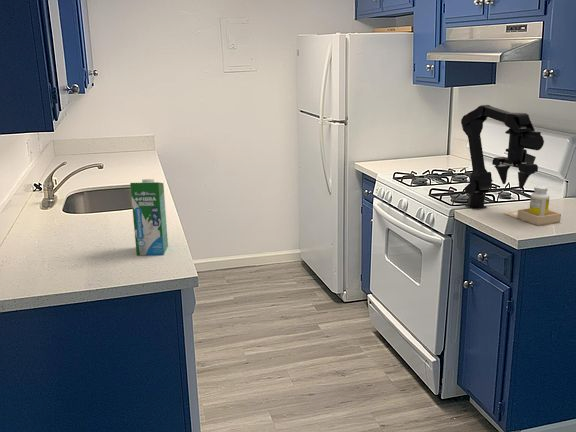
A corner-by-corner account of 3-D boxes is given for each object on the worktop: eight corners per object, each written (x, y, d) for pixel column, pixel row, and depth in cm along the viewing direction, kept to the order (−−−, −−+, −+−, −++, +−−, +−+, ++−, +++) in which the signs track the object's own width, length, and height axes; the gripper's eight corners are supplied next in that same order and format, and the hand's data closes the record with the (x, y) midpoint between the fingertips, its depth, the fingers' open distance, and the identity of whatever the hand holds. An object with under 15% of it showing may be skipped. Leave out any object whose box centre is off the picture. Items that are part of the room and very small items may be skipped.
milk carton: (168, 246, 204) (163, 176, 197) (163, 255, 195) (158, 182, 188) (142, 246, 203) (136, 176, 196) (136, 255, 195) (130, 182, 188)
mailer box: (503, 213, 237) (504, 205, 236) (525, 210, 241) (525, 202, 240) (538, 225, 221) (539, 217, 220) (560, 222, 225) (561, 213, 224)
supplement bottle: (542, 216, 231) (546, 185, 227) (549, 221, 224) (553, 189, 221) (525, 216, 231) (529, 185, 227) (532, 221, 224) (535, 189, 221)
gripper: (551, 148, 218) (546, 189, 222) (515, 141, 234) (511, 179, 239) (528, 150, 214) (523, 192, 218) (493, 143, 230) (489, 182, 235)
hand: (512, 186), depth 228 cm, fingers open, 9 cm apart
